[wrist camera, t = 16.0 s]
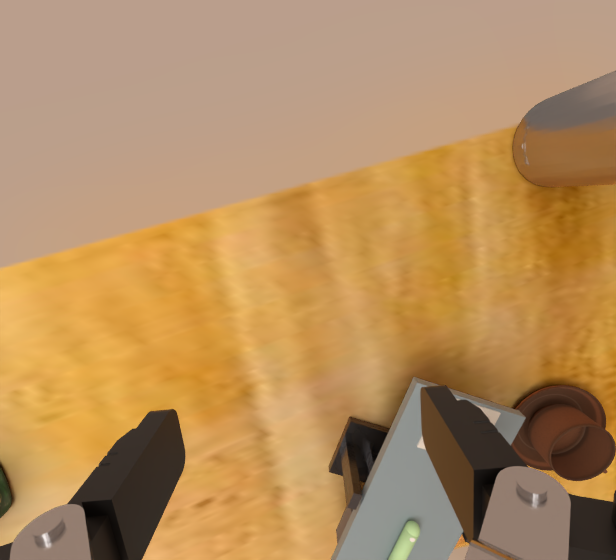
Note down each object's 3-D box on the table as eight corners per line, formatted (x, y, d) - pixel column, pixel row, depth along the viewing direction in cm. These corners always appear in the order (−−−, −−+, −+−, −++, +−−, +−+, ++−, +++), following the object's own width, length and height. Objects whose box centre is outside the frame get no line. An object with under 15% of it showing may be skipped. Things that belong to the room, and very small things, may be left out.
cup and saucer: (611, 395, 45) (658, 426, 39) (564, 470, 47) (602, 509, 41) (527, 366, 44) (562, 393, 38) (484, 444, 46) (510, 480, 41)
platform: (414, 551, 46) (432, 612, 39) (329, 527, 45) (332, 585, 39) (498, 390, 41) (536, 428, 34) (403, 359, 40) (422, 391, 33)
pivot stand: (437, 498, 48) (466, 565, 39) (328, 466, 47) (333, 527, 38) (462, 451, 47) (498, 510, 38) (349, 416, 45) (359, 469, 37)
